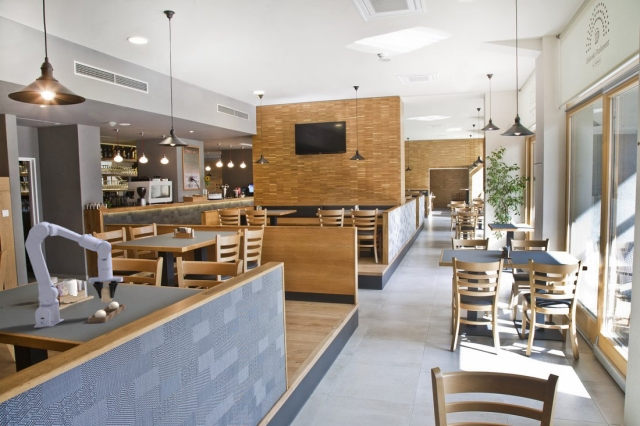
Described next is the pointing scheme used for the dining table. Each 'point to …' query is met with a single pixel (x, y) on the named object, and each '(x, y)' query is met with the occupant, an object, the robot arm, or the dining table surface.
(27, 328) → the dining table surface
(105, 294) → the beige jar
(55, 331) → the dining table surface
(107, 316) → the holder
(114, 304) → the egg right
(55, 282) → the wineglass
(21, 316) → the dining table surface
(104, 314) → the egg left
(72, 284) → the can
